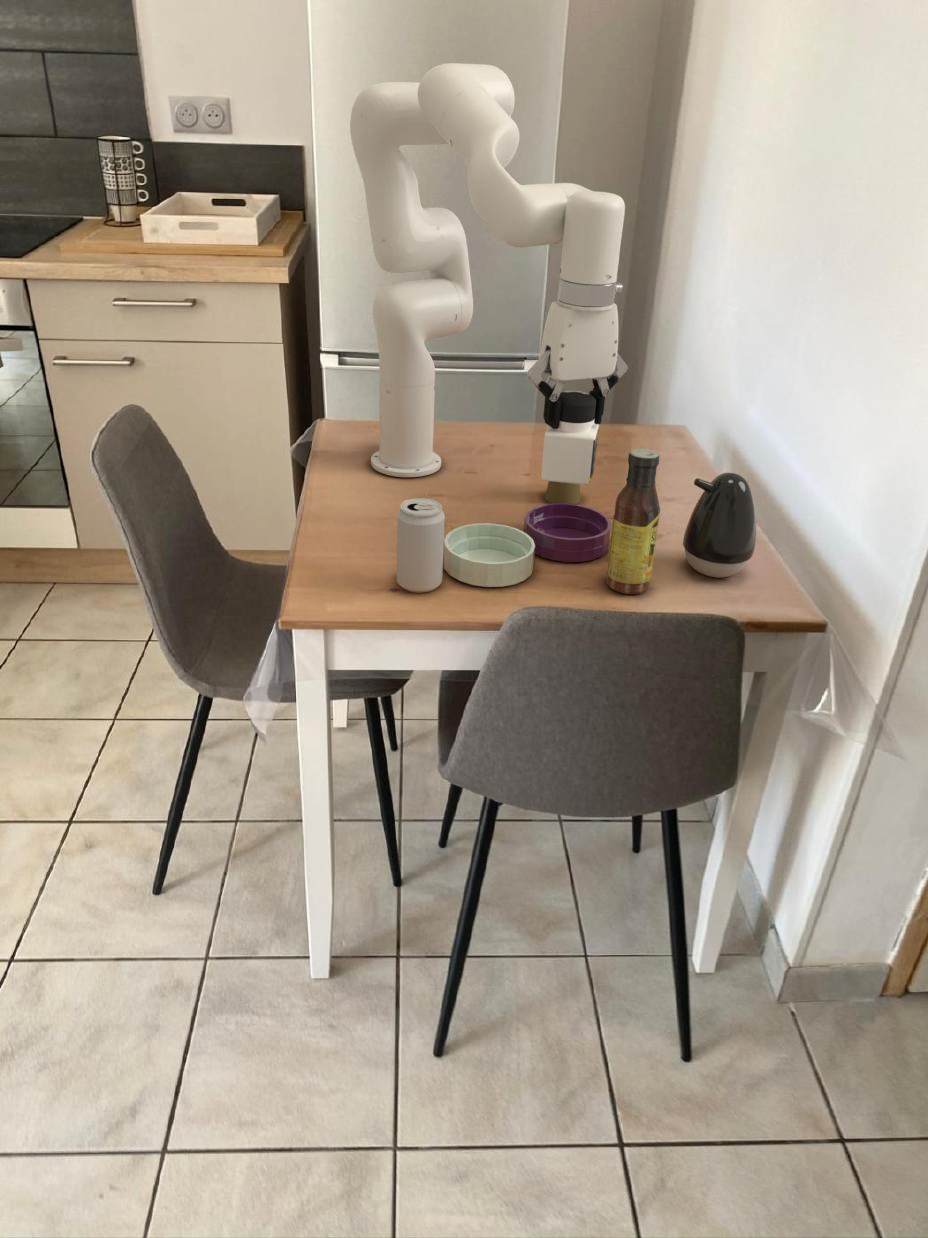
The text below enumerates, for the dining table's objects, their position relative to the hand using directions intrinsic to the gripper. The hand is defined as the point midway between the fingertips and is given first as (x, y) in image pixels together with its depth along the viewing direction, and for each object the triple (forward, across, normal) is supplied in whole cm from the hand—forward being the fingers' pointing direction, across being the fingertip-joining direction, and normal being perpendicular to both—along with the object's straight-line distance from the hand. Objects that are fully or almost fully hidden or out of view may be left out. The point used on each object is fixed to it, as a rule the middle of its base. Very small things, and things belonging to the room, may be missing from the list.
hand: (572, 422), depth 137 cm
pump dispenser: (+20, -18, +14) cm, 30 cm away
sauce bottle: (+20, -3, +14) cm, 25 cm away
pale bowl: (+20, +13, +3) cm, 24 cm away
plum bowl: (+20, -1, 0) cm, 20 cm away
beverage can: (+20, +25, +4) cm, 32 cm away
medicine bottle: (+8, 0, 0) cm, 8 cm away
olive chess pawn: (+20, -9, -16) cm, 27 cm away
